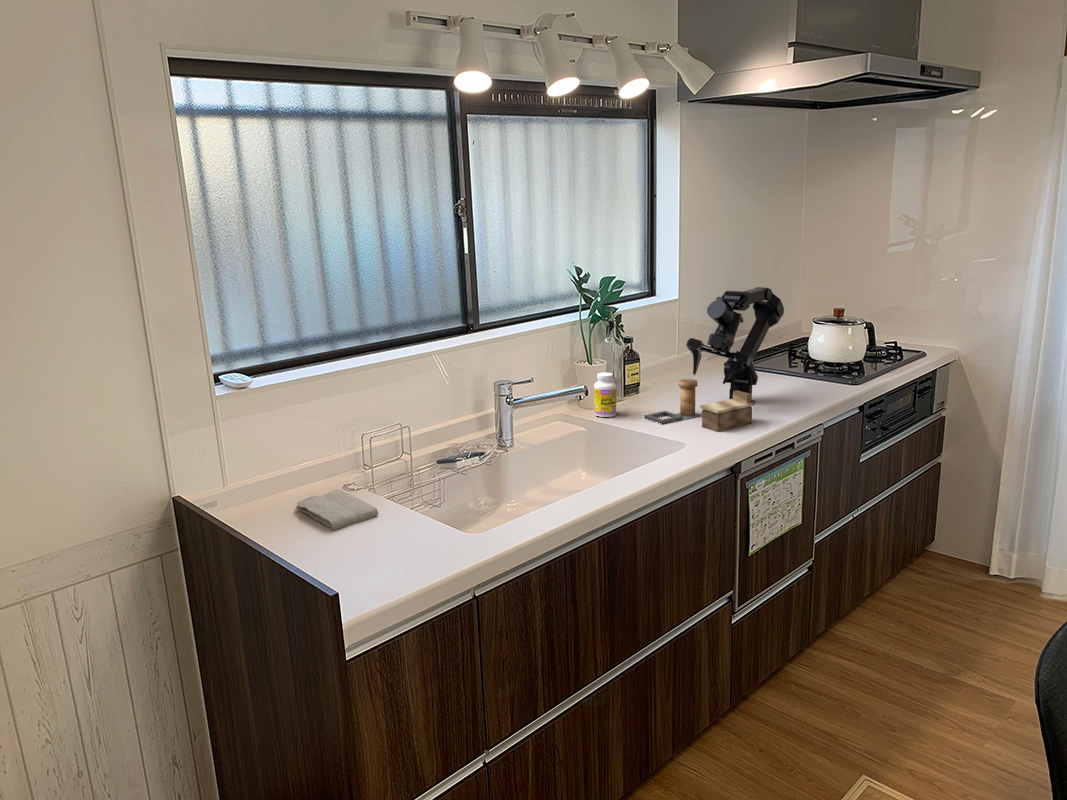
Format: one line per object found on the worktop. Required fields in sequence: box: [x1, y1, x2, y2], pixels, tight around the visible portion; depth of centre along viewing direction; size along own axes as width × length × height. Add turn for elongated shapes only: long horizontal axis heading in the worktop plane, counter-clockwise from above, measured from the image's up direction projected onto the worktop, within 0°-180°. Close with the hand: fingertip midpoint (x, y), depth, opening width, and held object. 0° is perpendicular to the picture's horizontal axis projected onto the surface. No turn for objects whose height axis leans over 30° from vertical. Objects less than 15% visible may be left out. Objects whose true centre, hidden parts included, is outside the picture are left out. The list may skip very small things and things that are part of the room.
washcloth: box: [295, 488, 379, 531], centre depth 183 cm, size 12×18×3 cm, turn 43°
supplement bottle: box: [593, 371, 617, 418], centre depth 250 cm, size 7×7×13 cm
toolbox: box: [701, 406, 753, 433], centre depth 236 cm, size 13×6×5 cm, turn 121°
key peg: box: [677, 378, 698, 417], centre depth 246 cm, size 6×6×10 cm
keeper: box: [643, 410, 684, 425], centre depth 245 cm, size 8×8×1 cm
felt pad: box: [676, 412, 702, 420], centre depth 248 cm, size 6×6×1 cm
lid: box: [699, 390, 755, 414], centre depth 235 cm, size 14×7×3 cm, turn 121°
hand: (708, 379), depth 246 cm, fingers open, 9 cm apart
